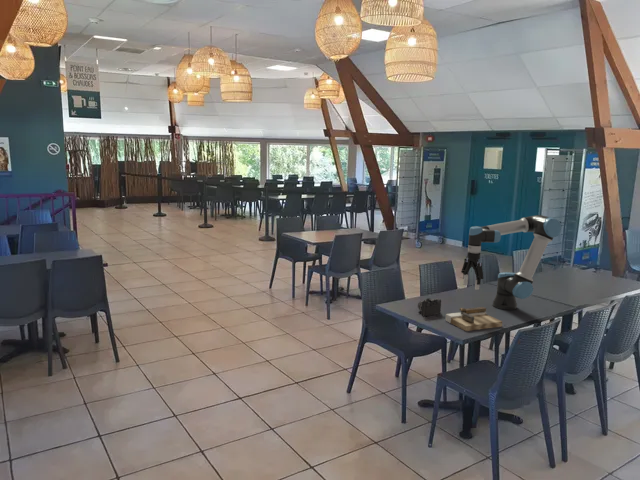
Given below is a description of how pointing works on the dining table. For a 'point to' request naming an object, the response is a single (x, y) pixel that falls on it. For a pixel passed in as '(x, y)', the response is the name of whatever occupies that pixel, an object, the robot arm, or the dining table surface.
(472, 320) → the bar
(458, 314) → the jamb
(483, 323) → the door slab
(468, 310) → the swing bar
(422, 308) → the camera
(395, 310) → the dining table surface
